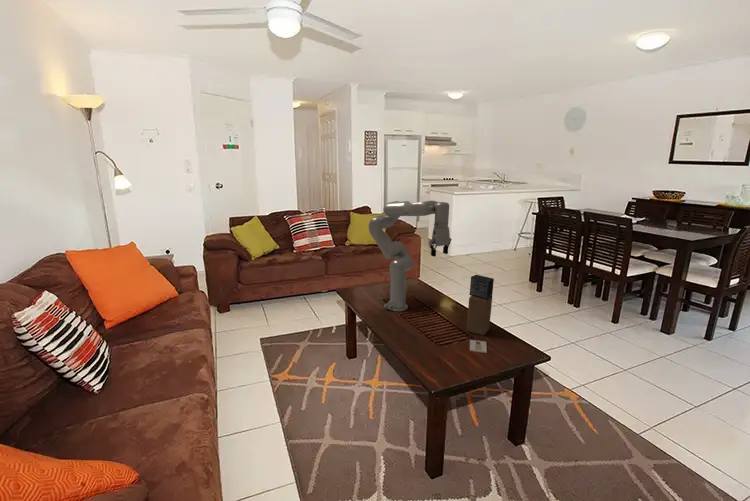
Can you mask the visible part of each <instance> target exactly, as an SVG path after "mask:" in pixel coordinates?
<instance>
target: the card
mask: <svg viewBox="0 0 750 501" xmlns="http://www.w3.org/2000/svg"><path fill="white" fill-rule="evenodd" d="M469 352H475V353H481V354H482V353H483V354H487V353H488V350H487V341H484V340H483V341H482V340H477V339H476V340H474V339H470V340H469Z"/></svg>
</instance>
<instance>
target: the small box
mask: <svg viewBox="0 0 750 501" xmlns="http://www.w3.org/2000/svg"><path fill="white" fill-rule="evenodd" d="M494 279H495V278H493V277H488V276H484V275H480V274H475V275H471V276H470V285H469V286H470V287H469V296H475V297H479V298H482V299H486V300H488V299H489V298H491V297H492V298H493V292H494V281H495V280H494Z"/></svg>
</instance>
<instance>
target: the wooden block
mask: <svg viewBox="0 0 750 501" xmlns="http://www.w3.org/2000/svg"><path fill="white" fill-rule="evenodd" d="M492 304H493V296H492V297H491V298H489V299H488V300H486V299H482V298H479V297H475V296H471V295H469V298H468V307H467V308H468V310H467V318H466V319H467V320H466V322H467V323H466V332H469V333H472V334H477V335H481V336H485V335H486V334H487V333H488V332H489V330H490V326H491V316H492V315H491V314H492Z"/></svg>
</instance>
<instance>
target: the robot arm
mask: <svg viewBox="0 0 750 501" xmlns="http://www.w3.org/2000/svg"><path fill="white" fill-rule="evenodd" d="M382 210H383V213H384V214H380V215H376V216H374V217H372V218H371V219H370V220H369V222H368V231H369V235H370V236H371V237H372V239H373V240H374V241H375V242H376V245H377V246H378V248H379V249H380V251H381V253H382V255H383V256H384V258H385V259H388V260H390V259H393V260H392V261H390V264H389V268H388V269H389V274H390V283H389V284H390V286H389V287H390V290H389V297H390V299H389V300H388V303H385V304H383V307H384V308H387V309H388V310H390V311H393V312H394V311H395V312H403V311H404V312H405V311H406V310H408V304H406V294H407V293H406V292H407V279H406V278H407V277H406V272H408V271H410V270H411V269H412V268H413V267H414V260H413V258H412V256H411V254H410V252H409V251H408V249H407V248H406V247H405V245H404V244H403V243H402V242H400V241H398V240H395V241H392V239H391V238H390V236H389V235H388V234H387V233H386V232H385V231H384V230H385V229H388V228H391V227H393V225H395V223H396V222H397V220H398V219H399V218H400V217H424V216H430V215H433V214H434V222H433V230H432V233H431V239H430V240H429V241H428V243H427V244H428V245H429V246H428V247H429V248H430V256H431V257H434V258H435V257H437V256H436V255H437V247H442V246H443V247H442V248H443V249H442V253H443V254H445V255H448V254H449V247H450V245H451V242H452V240H453V239H452V238H451V237H450V236H451V235H450V226H449V219H450V218H449V217H450V203H449V202H445V201H436V200H426V201H422V202H421V201H419V202H410V201H408V200H406V201H399V200H398V201H397V200H395V201H389V202H386V203H385V204H384V206H383V209H382ZM394 258H395V259H394Z"/></svg>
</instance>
